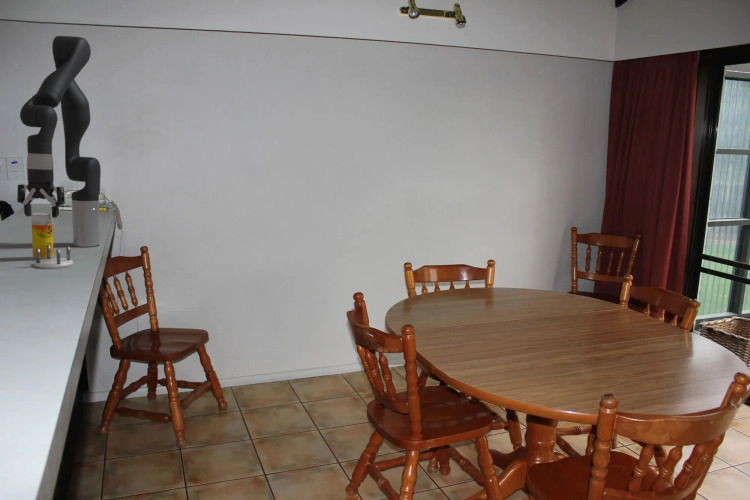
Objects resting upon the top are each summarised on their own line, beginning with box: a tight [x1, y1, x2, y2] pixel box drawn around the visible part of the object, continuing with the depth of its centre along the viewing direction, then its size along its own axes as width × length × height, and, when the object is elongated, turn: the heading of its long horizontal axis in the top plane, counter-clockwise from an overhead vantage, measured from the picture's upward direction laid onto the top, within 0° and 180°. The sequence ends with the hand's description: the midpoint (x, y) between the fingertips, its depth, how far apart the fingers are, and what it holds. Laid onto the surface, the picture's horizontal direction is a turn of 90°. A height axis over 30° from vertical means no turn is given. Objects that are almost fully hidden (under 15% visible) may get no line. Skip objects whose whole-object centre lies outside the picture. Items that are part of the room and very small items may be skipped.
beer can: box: [30, 212, 55, 260], centre depth 199 cm, size 6×6×15 cm
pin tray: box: [33, 245, 74, 270], centre depth 191 cm, size 11×11×6 cm
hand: (41, 216), depth 197 cm, fingers open, 8 cm apart
